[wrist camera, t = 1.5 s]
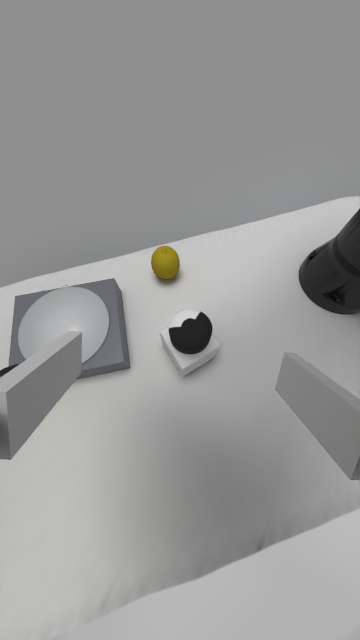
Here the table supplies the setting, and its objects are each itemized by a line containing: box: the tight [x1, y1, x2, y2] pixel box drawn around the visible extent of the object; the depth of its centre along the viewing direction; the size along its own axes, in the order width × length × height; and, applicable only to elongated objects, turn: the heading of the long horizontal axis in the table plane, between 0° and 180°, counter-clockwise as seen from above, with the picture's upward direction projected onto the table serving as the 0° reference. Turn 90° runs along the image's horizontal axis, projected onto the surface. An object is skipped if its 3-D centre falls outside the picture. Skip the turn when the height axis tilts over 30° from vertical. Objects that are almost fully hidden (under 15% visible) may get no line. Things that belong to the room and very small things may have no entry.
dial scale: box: [9, 278, 130, 379], centre depth 40 cm, size 18×17×6 cm
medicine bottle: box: [160, 309, 221, 376], centre depth 36 cm, size 7×7×12 cm
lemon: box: [151, 246, 180, 279], centre depth 44 cm, size 6×6×8 cm
